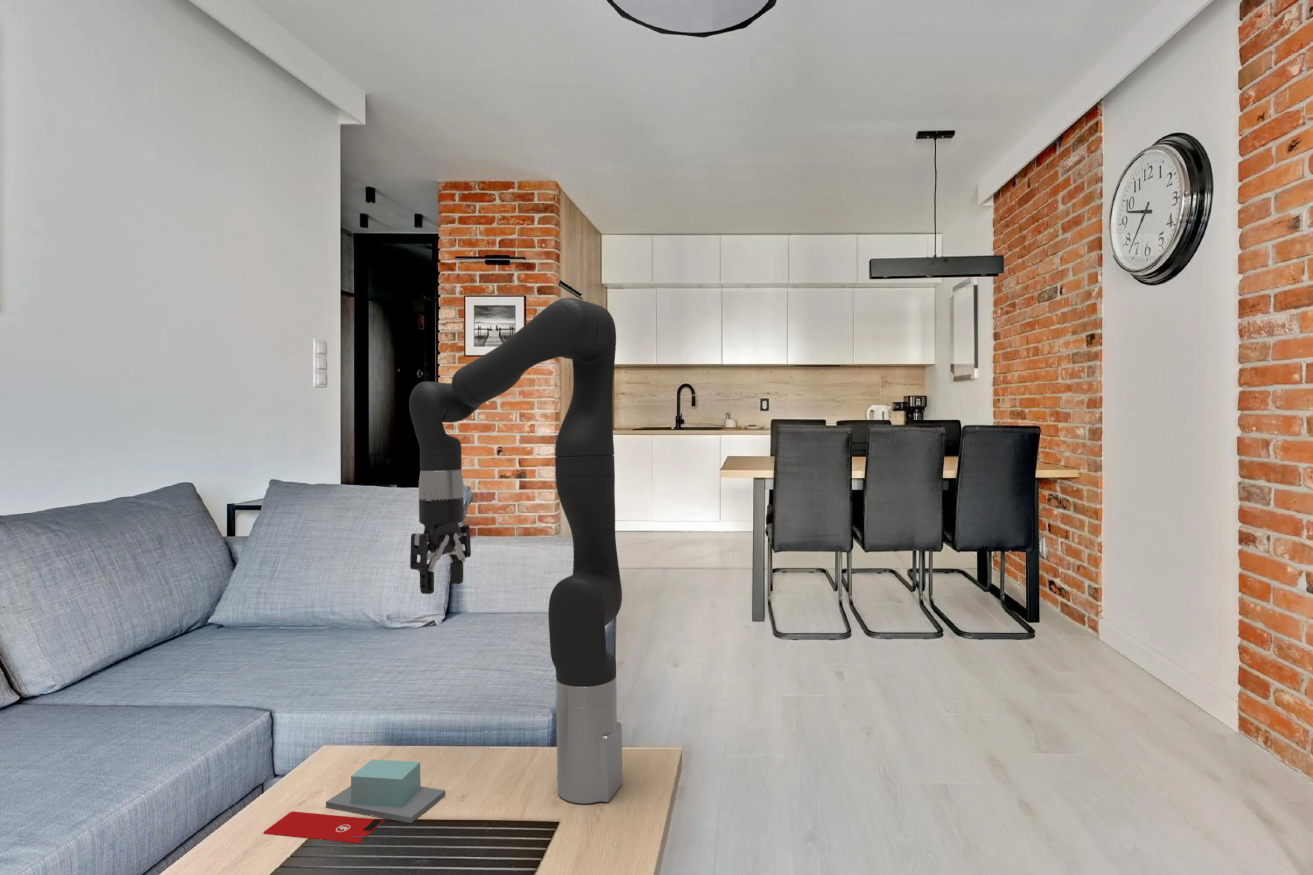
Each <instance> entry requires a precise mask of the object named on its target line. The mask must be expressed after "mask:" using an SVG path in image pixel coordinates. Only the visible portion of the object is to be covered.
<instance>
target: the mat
mask: <svg viewBox="0 0 1313 875" xmlns="http://www.w3.org/2000/svg"><path fill="white" fill-rule="evenodd" d="M445 797H446V790H445V789H439V788H438V789H437V788H433V787H427V786H426V787H425V786H421V785H420V789H419V790H418V791H417V792H416V793H415V795H414V796H413V797H412V798H411V799H410V800H409V801H408V802H407V803H406V804H405V805H404V806H403V807H394V806H379V805H365V804H351V785H350V786H348V787H347V788H345V789H344V790H342V791H341V792H338V793H337V794H336V795H334V796H333V797H331V798H329V799H327V801H325V808H328V809H333V810H339V811H343V812H349V813H355V814H359V813H360V815H364V816H365V815H366V816H370V815H373V816H372V817H375V816H378V817H377V818H381V817H382V819H386V818H388V820H391V821H398V822H402V823H406V824H407V823H409V824H413V822H415V821H416V820H417V819H418V818H420V817H421V816H422V815H423V814H425V813H426V812H427V811H428V810H429V809H431V808H432V807H434V806H435V805H436V804H437V803H439V801H441V800H442V799H443V798H445Z"/></svg>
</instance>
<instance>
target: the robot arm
mask: <svg viewBox="0 0 1313 875" xmlns="http://www.w3.org/2000/svg"><path fill="white" fill-rule="evenodd" d="M616 350H617V329H616V323H615V319H614V318H613V316H612V315H611V313H610V311H609V310H608V309H607V308H605V307H604V306H602V305H599V304H596V303H593V302H590V301H587V300H582V299H579V298H575V297H562V298H560V299H557V300H555V301H553V302H551V303H550V304H549V305H547V306H546V307H545V308H543V309H542V311H540V312H539V313H537V314H536V315H535V317H533V318H532V319H531V320H530V321H529V322H527V323H526V324H524V326H523V327H520V329H519V330H517V332H515V333H514V334H513V335H511V336H510V337H509V338H508V339H506V340H505V341H504V342H503V343H501V344H499V345H498V346H497V347H495V348H494V349H492V350H490V351H488V352H487V353H485V354H483V355H481V356H480V357H478V358H476V359H474V360H472V361H471V362H469V363H467V364H465V365H463V366H461V368H459V369H457V370H456V372H455V373H454V374H453V376H452V378H451V379H452V380H451V382H450V383H448V382H439V381H438V382H437V381H421V382H419V383H418V384H417V385H415V386H414V387H413V389H412V390H411V393H410V395H409V402H408V409H409V414H410V418H411V422H412V426H413V429H414V432H415V436H416V439H417V442H418V445H419V470H420V472H419V479H418V521H419V523H420V524H422V525H423V526H424V530H423V533H420V532H419V533H413V532H412V534H411V535H410V555H409V556H410V558H409V559H410V561H409V564H410V565H409V567H410V569H411V570H415V571H418V572H419V590H420V593H421V594H423V595H431V594H433V593H434V592H435V571H434V568H435V566H436V563H437V562H438V561H439V560H441V557H442V556H443V555H447V557H448V558H449V560H450V563H449V566H450V567H449V568H450V570H449V572H450V573H449V576H450V577H449V578H450V579H449V581H450V583H451V584H453V585H460V584H462V583H463V582H464V563H465V561H466V559H467V558H470V557H471V555H472V548H471V527H470V525H469V524H460V523H462V522H463V521H464V519H465V511H464V510H465V508H464V506H465V504H464V502H465V501H464V479H463V478H464V477H463V470H462V464H463V462H462V455H463V454H462V451H463V450H462V443H461V441H460V440H459V439H458V438H457V437H455V436H452V435H449V434H447V433H446V430H445V427H444V423H445V424H446V423H449V424H453V423H457V422H460V421H463V420H465V419H467V418H469V417H470V416H471V415H473V413H474V412H476V410H478V409H479V408H480V407H481V405H482V404H484V403H487V402H489V401H491V400H493V399H494V398H496V397H499V396H501V395H502V394H504V393H506V392H508V391H509V390H510V389H512V388H513V387H514V386H515V385H516V384H517V383H518V382H519V381H520V379H521V378H522V376H523V375H524V374H525V373H526V372H527V371H528V370H529V369H531V368H532V367H534V366H536V365H538V364H541V363H543V362H547V361H549V360H555V359H557V358H563V359H568V360H572V361H571V362H572V374H573V375H572V377H573V378H572V379H573V387H572V388H573V389H572V395H571V400H570V403H569V406H568V409H567V411H566V414H565V416H564V419H563V421H562V423H561V426H560V428H559V430H558V433H557V436H556V442H555V447H554V464H555V465H554V467H555V468H554V470H555V475H554V476H555V484H556V491H557V495H558V498H559V502H560V504H561V508H562V510H563V513H564V514H565V515H564V516H565V517H566V520H567V522H568V525H569V529H570V532H571V536H572V537H571V538H572V545H573V546H572V547H573V550H572V551H573V565H572V567H573V568H572V574H571V575H570V576H567V577H565V578H563V579H561V580H560V581H558V582H557V583H556V584H555V586H554V587H553V589H552V590H551V594H550V597H549V600H548V601H549V602H548V632H549V646H550V647H549V648H550V649H549V650H550V652H549V653H550V657H551V661H552V664H553V666H554V668H555V678H556V679H555V683H556V684H555V685H556V686H555V689H556V692H555V693H556V695H555V697H556V698H555V699H556V700H555V702H556V704H555V705H556V766H557V767H556V771H557V772H556V773H557V775H556V780H557V794H558V795H559V797H560V798H562V799H563V800H565V801H567V802H570V803H574V804H593V803H594V804H595V803H600V802H603V803H609V802H610V801H611V799H612V798H613V796H614V795H615V794H616V793H617V791H619V789H620V788H621V786H622V785H623V735H622V734H623V732H622V731H623V728H622V727H623V725H622V723H621V722H619V721H617V720H618V716H617V715H618V714H617V713H618V711H617V710H618V709H617V661H616V658H615V656H614V655H613V654H612V653H609V652H608V650H607V641H606V639H607V638H606V626H607V625H609V624H610V623H611V622H612V621H613V620H615V618H616V617H617V616H618V614H619V612H620V610H621V608H622V603H623V590H622V581H621V574H620V573H621V572H620V568H619V567H620V566H619V565H620V564H619V558H618V551H617V549H618V548H617V540H616V539H617V538H616V495H615V494H616V493H615V492H616V491H615V490H616V485H615V484H616V483H615V482H616V475H615V474H616V473H615V471H616V470H615V469H616V468H615V445H614V405H613V404H614V402H613V401H614V400H613V399H614V398H613V396H614V393H613V391H614V375H615V374H614V373H615V365H616V364H615V362H616ZM463 545H464V547H463ZM418 556H419V557H420V558H419V561H418Z"/></svg>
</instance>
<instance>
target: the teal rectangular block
mask: <svg viewBox="0 0 1313 875" xmlns="http://www.w3.org/2000/svg"><path fill="white" fill-rule="evenodd" d="M350 786H351V804H365V805H379V806H394V807H403V806H404V805H405V804H406V803H407V802H408V801H409V800H410V799H411V798H412V797H413V796H414V795H415V793H416V792H417V791H418V790H419V789H420V786H421V762H420V761H407V760H388V759H387V760H386V759H370V760H369V761H368V762H366V763H365V764H364V765H363V766H362V767H361V768H359V769H358V770H357V771H355V772H354V773H353V774H351V776H350Z"/></svg>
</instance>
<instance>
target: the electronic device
mask: <svg viewBox="0 0 1313 875" xmlns="http://www.w3.org/2000/svg"><path fill="white" fill-rule="evenodd" d="M329 822H330V823H329ZM382 822H383V823H384V820H383V819H378V818H366V817H355V816H347V815H345V816H344V815H337V814H335V815H334V814H326V813H325V814H324V813H315V812H302V811H290V812H288V813H286V815H284V816H283V817H282V818H280V819H279V820H278V821H276V822H275V823H274V824H272V825H271V826H270V827H269V828H268V827H267V828H266V829H265V830H264V831H263V834H264V835H268V836H269V835H272V836H279V837H280V836H281V837H290V838H298V839H308V840H319V841H327V840H333V841H332V842H337V841H342V842H341V843H346V842H347V843H349V842H350V843H349V844H356V843H358V844H361V843H362V842H363V841H365V840H364V838H365V837H364V838H361V837H362V836H368V835H369V834H370V833H371V834H372V833H373V832H374V831H375V830H376V829H377V828H379V827H380V826H381V825H382V824H383V823H382ZM381 823H382V824H381ZM380 824H381V825H380ZM379 825H380V826H379ZM374 829H375V830H374ZM373 830H374V831H373ZM366 833H367V834H366ZM368 833H369V834H368ZM371 834H370V835H371ZM370 835H369V836H370ZM325 836H326V837H325ZM327 836H329V837H327ZM332 836H333V837H332ZM334 836H335V837H336V838H335V837H334ZM352 836H353V837H352ZM354 836H355V837H356V836H361V837H356V838H355V837H354ZM369 836H368V837H369ZM350 837H351V838H350ZM357 838H358V839H357ZM320 839H322V840H320ZM362 839H363V841H362ZM335 840H336V841H335ZM355 840H356V842H355ZM357 840H358V841H357ZM359 840H360V841H359ZM361 841H362V842H361ZM360 842H361V843H360ZM347 843H346V844H347Z"/></svg>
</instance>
